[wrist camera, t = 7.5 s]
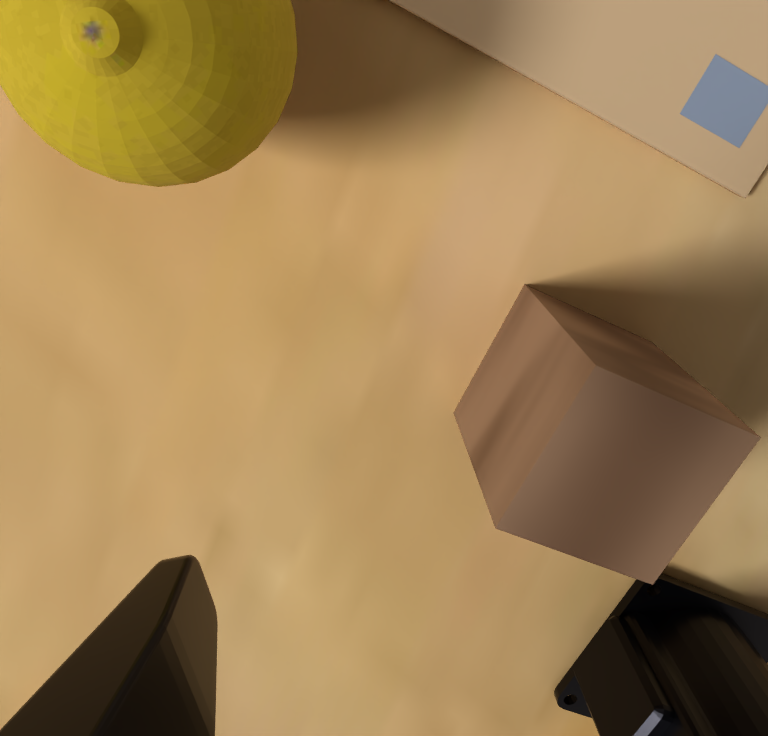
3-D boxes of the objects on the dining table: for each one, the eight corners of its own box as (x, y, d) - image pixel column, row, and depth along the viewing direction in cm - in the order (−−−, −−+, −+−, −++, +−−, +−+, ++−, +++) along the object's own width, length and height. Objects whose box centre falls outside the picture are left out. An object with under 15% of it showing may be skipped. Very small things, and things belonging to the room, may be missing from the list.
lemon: (213, -144, 16) (123, -305, 9) (344, 83, 18) (358, 103, 11) (20, -4, 17) (-207, -46, 10) (167, 198, 19) (70, 288, 12)
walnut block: (651, 341, 22) (760, 437, 16) (575, 460, 23) (652, 584, 18) (524, 284, 21) (596, 365, 15) (453, 412, 22) (495, 528, 17)
